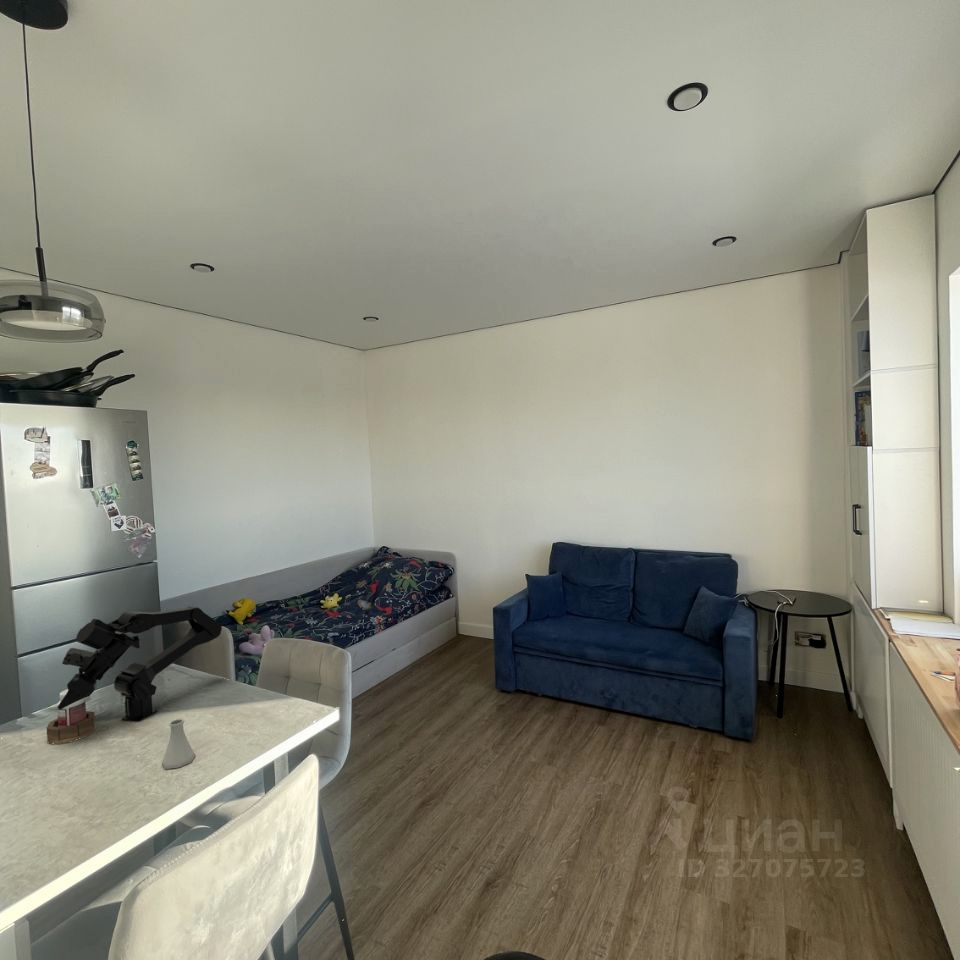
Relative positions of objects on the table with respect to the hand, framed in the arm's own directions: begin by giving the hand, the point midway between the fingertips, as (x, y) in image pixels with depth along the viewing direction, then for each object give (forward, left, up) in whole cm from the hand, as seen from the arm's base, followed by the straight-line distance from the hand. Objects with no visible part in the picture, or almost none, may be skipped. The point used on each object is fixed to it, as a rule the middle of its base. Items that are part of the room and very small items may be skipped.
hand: (63, 701), depth 141 cm
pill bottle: (-1, -1, -9) cm, 9 cm away
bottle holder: (-1, -1, -10) cm, 10 cm away
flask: (-42, +5, -10) cm, 44 cm away
